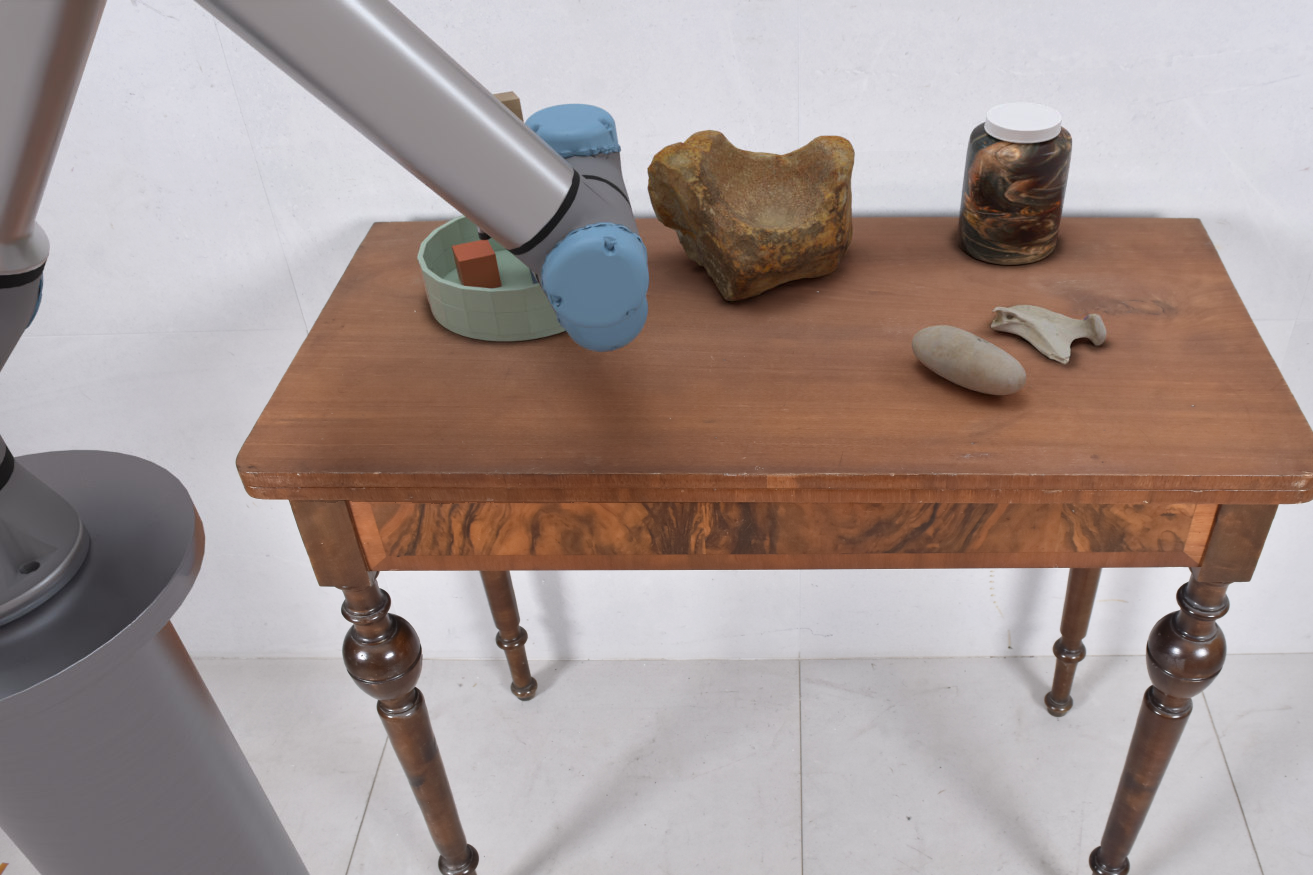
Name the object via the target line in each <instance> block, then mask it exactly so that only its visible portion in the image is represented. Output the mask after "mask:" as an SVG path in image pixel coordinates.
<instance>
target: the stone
mask: <svg viewBox="0 0 1313 875" xmlns="http://www.w3.org/2000/svg"><path fill="white" fill-rule="evenodd" d="M911 350H912V353H913V354H914V356H915V358H916V359H917V360H918V361H919V362H921V364H923V365H924V366H925V367H927V368H928V369H929V370H930V371H931V372H933V373H935V374H936V375H938V376H940V377H942V378H944V379H945V380H947V381H949V382H951V383H953V384H955V385H957V386H960V387H962V388H964V389H967V390H970V391H973V392H974V391H975V392H978V393H982V394H986V395H993V396H1008V395H1012V394H1016V393H1018V392H1020V391H1021V390H1022V389H1023V388H1024V387H1025V385H1026V383H1027V373H1026V370H1025V368H1024V367H1023V365H1022V364H1021V363H1020V362H1019V361H1018V360H1017V359H1016V358H1015V357H1014V356H1012V354H1009V353H1008V352H1007V351H1005V350H1003V349H1002V348H1000V347H998V346H997V345H995V344H994V343H992V342H990V341H988V340H986V339H984V338H982V337H980V336H978V335H976V334H974V333H972V332H969V331H968V330H966V329H965V330H964V329H962V328H959V327H956V326H953V325H949V324H948V325H947V324H939V325H932V326H927V327H924V328H922V329H920V330H919V331H917V332H916V333H915V335H913V337H912V339H911Z"/></svg>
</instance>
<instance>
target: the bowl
mask: <svg viewBox="0 0 1313 875" xmlns="http://www.w3.org/2000/svg"><path fill="white" fill-rule="evenodd" d="M479 240H480V239H479V235H478V230H477V226H476V225H475V224H474V223H473V222H471V221H470V220H469V219H468V218H466V217H465V216H464V215H463V214H461V215H460V216H457V217H453V218H452V219H450V220H449V221H447V222H445V223H443V224H442V225H440V226H438V227H436V228H434V229H433V230H432V231H431V232H430V233H429V234H428V235H427V236H426V237H425V238H424V240H423V241H422V242H421V243H420V245H419V246H420V247H419V250H418V252H417V256H416V258H417V262H418V267H419V271H420V274H421V275H420V276H421V278H422V283H423V287H424V291H425V295H426V299H427V301H428V305H429V308H430V312H431V314H432V315H433V317H434V319H435V320H436V321H437V322H438V323H439V324H440V325H441V326H442V327H444V328H445V329H447V330H449V331H450V332H453V333H455V334H457V335H460V336H463V337H466V338H469V339H474V340H480V341H487V342H521V341H529V340H536V339H540V338H546V337H551V336H555V335H557V334H560V333H562V332H563V333H564V332H567V331H566V330H565V329H564V328H563V327H562V326H561V325H560V323H558V320H557V316H556V313H555V312H554V310H553V308H552V306H551V304H550V303H549V301H548V299H547V297H546V295H545V293H544V292H543V290H542V288H541V287H540V284H539V283H536V284H533V281H532V277H531V273H530V269H529V268H528V267H527V266H526V265H525V264H524V263H522V262H521V261H520V260H519V259H518V258H516V257H515V256H514V255H513V254H512V253H510V252H509V251H508V250H507V249H505V248H504V247H503V246H501V245H500V244H499V243H498V242H496V241H495V240H494V239H493V238H490V239H488V241H489V243H490V245H491V247H492V249H493V250H494V252H495V254H496V259H497V264H498V269H499V275H500V280H501V285H502V286H501V287H496V288H492V289H491V288H481V287H471V286H463V285H462V284H461V282H460V280H459V277H458V273H457V268H456V264H455V259H454V255H453V250H452V246H454V245H459V244H464V243H469V242H474V241H479Z"/></svg>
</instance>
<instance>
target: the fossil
mask: <svg viewBox="0 0 1313 875" xmlns="http://www.w3.org/2000/svg"><path fill="white" fill-rule="evenodd" d="M991 312H992V313H996V316H995V317H994V319H993V320H992V323H991V324H990V327H991V329H992V330H994V331H999V332H1004V333H1009V334H1013V335H1016V336H1019V337H1021V338H1023V339H1024V340H1026V341H1028V342H1029V344H1031V345H1032V346H1033V347H1034V348H1036V350H1037V351H1039V352H1040V353H1041V354H1042V355H1044V356H1045V357H1047V358H1048V359H1050V360H1054V361H1056V362H1059V363H1060V364H1063V365H1067V364H1068V363H1069V362H1070V358H1071V344H1072V342H1073V341H1074V340H1077V339H1081V338H1087V339H1088V340H1090V341H1091V342H1092V343H1093V345H1094V346H1101V345H1102V344H1103V343H1104V342H1105V340H1106V338H1107V329H1106V326H1105V323H1104V321H1103V319H1102V316H1101V315H1100V314H1097V313H1090V314H1088V315H1086V316H1085V317H1083V319H1076V318H1072V317H1069V316H1066V315H1064V314H1062V313H1059V312H1055V311H1052V310H1049V309H1047V308H1044V307H1041V306H1037V305H1033V304H1016V305H1013V306H1009V307H1006V306H1005V307H1004V306H996V307H995V308H994V309H993V310H992V311H991Z"/></svg>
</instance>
